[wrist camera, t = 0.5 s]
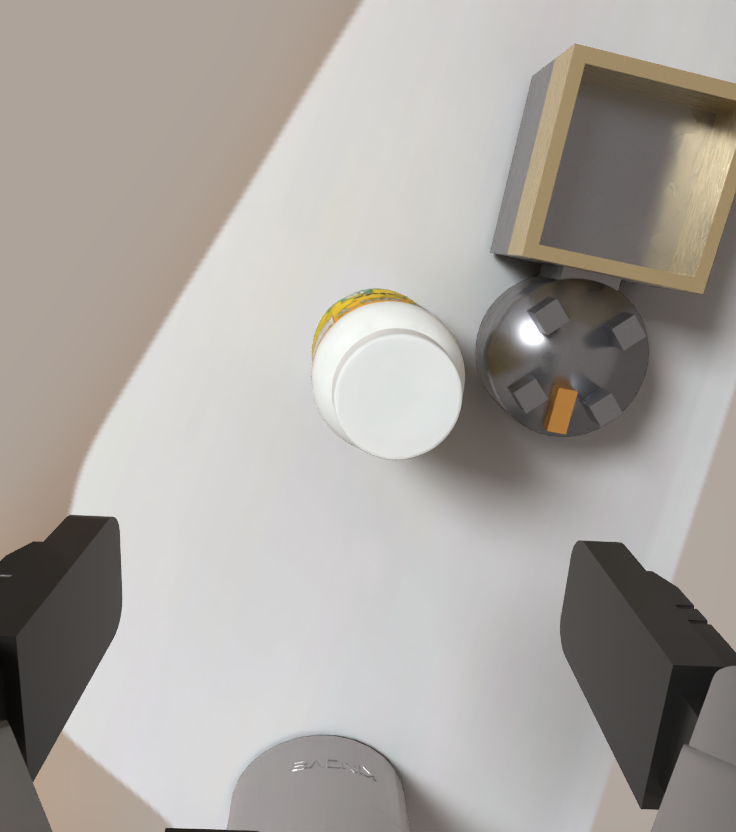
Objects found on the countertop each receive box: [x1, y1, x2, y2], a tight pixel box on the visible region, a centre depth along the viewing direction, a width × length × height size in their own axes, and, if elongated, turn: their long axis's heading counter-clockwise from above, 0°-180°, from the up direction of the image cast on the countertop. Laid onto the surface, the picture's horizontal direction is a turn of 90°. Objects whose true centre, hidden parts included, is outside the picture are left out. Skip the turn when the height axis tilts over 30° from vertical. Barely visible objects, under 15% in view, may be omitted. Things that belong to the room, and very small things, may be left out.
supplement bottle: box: [311, 288, 465, 460], centre depth 25 cm, size 5×5×10 cm
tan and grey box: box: [475, 44, 736, 437], centre depth 27 cm, size 14×7×5 cm, turn 169°
